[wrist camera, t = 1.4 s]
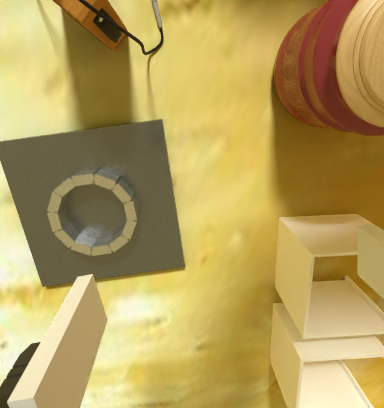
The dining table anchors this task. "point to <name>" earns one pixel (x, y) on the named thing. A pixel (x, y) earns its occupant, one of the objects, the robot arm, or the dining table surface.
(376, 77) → the canister
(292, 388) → the desk organizer
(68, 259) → the cup holder
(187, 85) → the dining table surface
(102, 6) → the multimeter
